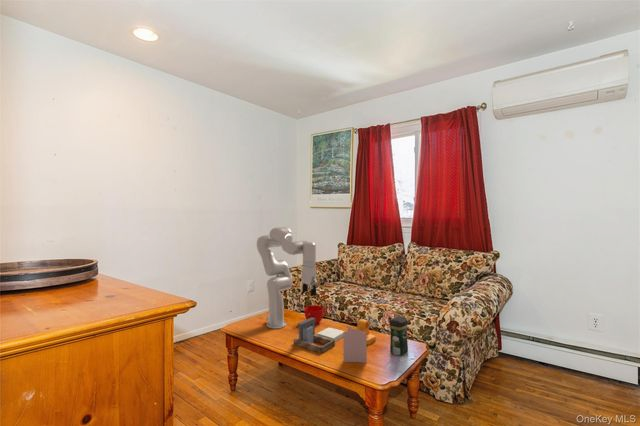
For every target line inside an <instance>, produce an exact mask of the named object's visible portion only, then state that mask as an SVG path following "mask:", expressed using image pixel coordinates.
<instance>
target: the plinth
mask: <svg viewBox="0 0 640 426" xmlns="http://www.w3.org/2000/svg"><path fill="white" fill-rule="evenodd" d="M343 332H346V331H344V330H341V329H336V328H333V327H326V328H325V329H323V330H321V331H319V332H317V333H316V335H318V336H322V337H325V338H328V339H332V340H335V342H337V341H339V340H340V339H343Z"/></svg>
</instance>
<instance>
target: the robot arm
mask: <svg viewBox="0 0 640 426" xmlns="http://www.w3.org/2000/svg"><path fill="white" fill-rule="evenodd" d="M292 234H293V233H292V230H291V229H290V228H289V227H287V226H283V227H273V228H272V229H271V230H270V231H269V234H266V235H261V236H259V237H258V238H257V239H256V249H257V251H258V253H259V255H260V258H261V261H262V264H263V268H264V272H265V274H266V275H267V276H268V277H271V278H269V279H268V280H267V282H266V289H267V292H268V293H267V294H268V315H267V316H266V318H265V320H266V321H267V322H266V327H267V328H269V329H273V330H274V329H276V330H277V329H281V328H284V327H285V326H287V321H285V320H284V319H285V317H284V313H285V311H284V296H283V294H282V293H281V292H282V291H287V290H290V289H292V287H293V277H292V274H291V271H290V268H289V265H288V263H287V262H286V261H285V260H282V259H280V260H277V259H276V257H275V253H274V252H273V251H272V250H270V249H269V248H278V247H281V248H282V250H283V251H284V252H285V253H287V254H288V255H290V256H291V255H293V256H295V255H301V254H302V268H301V277H300V278H301V280H300V281H301V283H302V285H301V286H302V292H303V293H305V292H308V290H309V287H308V286H310V296H311V297H314V296H317V288H318V284H319V281H318V280H317V270H316V269H317V265H316V264H317V262H316V261H317V248H316V243H315V242H313V241H312V242H311V241H307V240H298V241H293V235H292Z"/></svg>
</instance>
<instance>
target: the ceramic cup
mask: <svg viewBox="0 0 640 426" xmlns="http://www.w3.org/2000/svg"><path fill="white" fill-rule="evenodd" d="M324 309H325V308H324V306H322V305H319V304H316V305H314V304H313V305H307V306H305V307H304V309H303V310H304V317H305V320H307V319H309V318H311V317H312V318H316V322H315V326H316V325H319V324H320V322H321V321H322V320H323V317H324V311H325V310H324Z"/></svg>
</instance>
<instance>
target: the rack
mask: <svg viewBox="0 0 640 426" xmlns="http://www.w3.org/2000/svg"><path fill="white" fill-rule="evenodd" d="M292 341H293V345H294V346H298V347H300V348H304V349H306V350H309V351H312V352H315V353H318V354H321V355H322V354H324V353H325V352H326V351H328V350H330V349H332V348H334V347H336V346H335V344H336V343H335V342H336V341H335V340H332V339H328V338H325V337H322V336H318V335H317V334H314V335H313V342H317V343H320V344H324V345H322V346H321V345H318V344H315V343H309V342H306V341H303V340H302V341H300V340H299V338H297V337H294V338H293V340H292Z"/></svg>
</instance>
